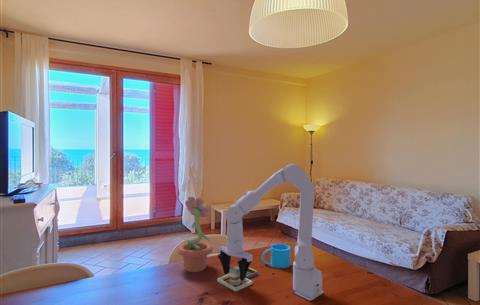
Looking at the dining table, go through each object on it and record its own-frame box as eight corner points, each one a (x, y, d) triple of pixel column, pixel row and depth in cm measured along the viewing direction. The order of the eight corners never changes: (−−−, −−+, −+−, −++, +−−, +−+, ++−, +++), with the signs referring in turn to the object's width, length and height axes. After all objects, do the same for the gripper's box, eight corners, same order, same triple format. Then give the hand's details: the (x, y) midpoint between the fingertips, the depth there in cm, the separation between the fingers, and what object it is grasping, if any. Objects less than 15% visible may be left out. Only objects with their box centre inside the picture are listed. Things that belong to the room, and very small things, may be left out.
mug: (288, 262, 121) (288, 243, 121) (292, 270, 113) (292, 250, 113) (260, 262, 121) (260, 244, 121) (262, 270, 113) (263, 250, 113)
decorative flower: (221, 267, 116) (221, 195, 116) (201, 281, 103) (202, 200, 103) (192, 260, 122) (192, 192, 122) (170, 272, 110) (171, 197, 110)
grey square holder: (257, 277, 107) (257, 271, 107) (246, 282, 103) (246, 275, 103) (247, 272, 111) (247, 266, 111) (235, 276, 107) (235, 270, 107)
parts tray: (252, 286, 99) (252, 281, 99) (235, 294, 94) (235, 288, 94) (233, 277, 106) (233, 272, 106) (217, 283, 101) (217, 278, 101)
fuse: (242, 283, 100) (242, 268, 100) (235, 287, 97) (235, 272, 97) (234, 280, 103) (234, 265, 103) (226, 284, 100) (227, 268, 100)
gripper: (257, 240, 99) (257, 278, 99) (227, 232, 108) (227, 267, 108) (245, 245, 93) (245, 285, 93) (214, 236, 102) (214, 273, 102)
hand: (234, 276), depth 100 cm, fingers open, 7 cm apart
